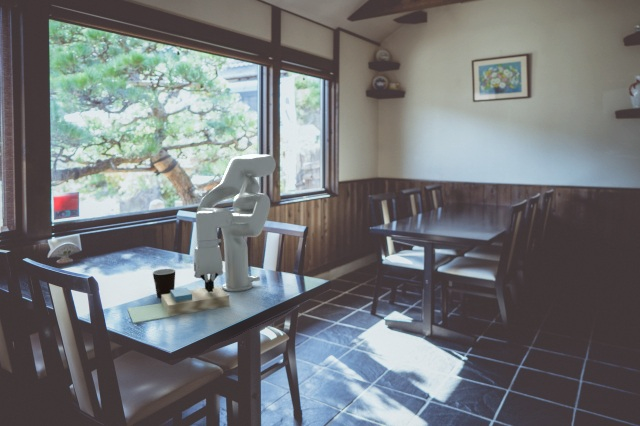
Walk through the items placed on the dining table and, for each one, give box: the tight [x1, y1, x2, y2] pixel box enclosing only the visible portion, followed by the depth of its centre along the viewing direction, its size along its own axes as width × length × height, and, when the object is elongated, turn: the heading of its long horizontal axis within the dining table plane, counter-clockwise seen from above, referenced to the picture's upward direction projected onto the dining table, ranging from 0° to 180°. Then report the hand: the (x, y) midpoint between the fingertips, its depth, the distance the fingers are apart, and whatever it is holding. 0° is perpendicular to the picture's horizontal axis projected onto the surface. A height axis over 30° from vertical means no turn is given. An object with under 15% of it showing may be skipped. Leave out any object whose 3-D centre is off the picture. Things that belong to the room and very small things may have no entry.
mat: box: [127, 302, 171, 324], centre depth 175 cm, size 12×16×1 cm
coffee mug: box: [152, 268, 176, 299], centre depth 195 cm, size 12×9×10 cm
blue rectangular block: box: [170, 287, 192, 302], centre depth 180 cm, size 6×9×2 cm, turn 27°
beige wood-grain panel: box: [160, 285, 230, 317], centre depth 182 cm, size 22×14×4 cm, turn 118°
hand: (209, 290), depth 184 cm, fingers closed
